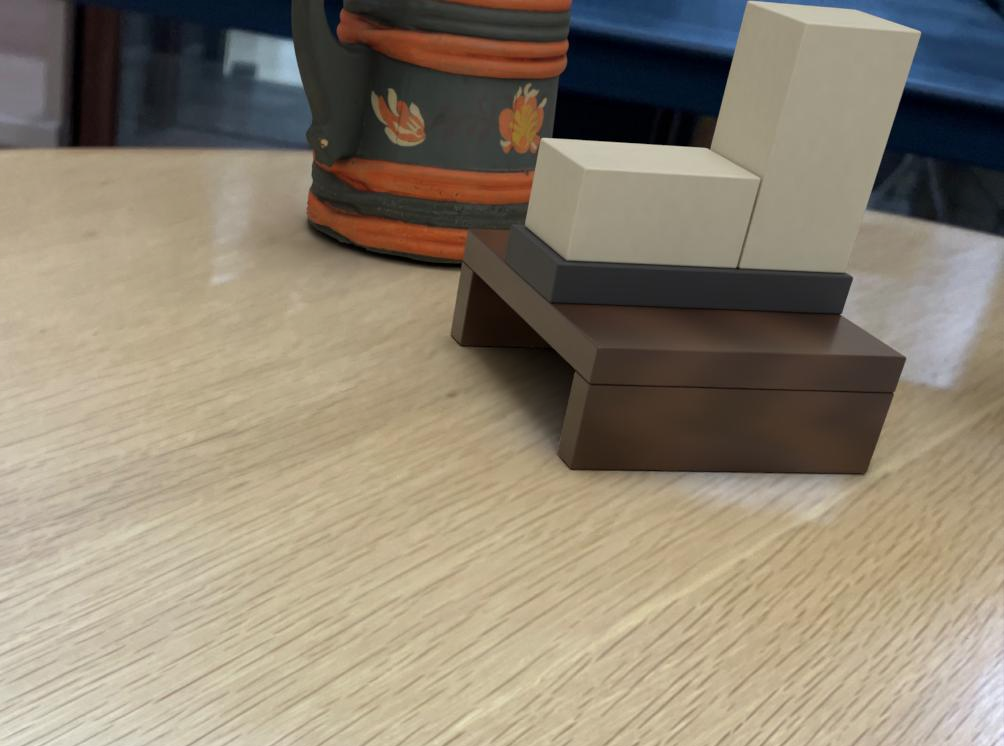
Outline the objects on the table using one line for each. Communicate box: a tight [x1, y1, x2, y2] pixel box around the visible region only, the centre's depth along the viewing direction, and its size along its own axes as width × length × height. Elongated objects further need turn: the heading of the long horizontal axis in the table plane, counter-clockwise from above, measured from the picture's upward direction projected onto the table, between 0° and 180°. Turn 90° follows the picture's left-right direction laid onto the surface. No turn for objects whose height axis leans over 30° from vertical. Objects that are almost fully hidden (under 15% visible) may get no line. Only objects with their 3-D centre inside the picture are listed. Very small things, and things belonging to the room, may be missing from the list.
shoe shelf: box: [450, 228, 907, 474], centre depth 71 cm, size 14×18×5 cm
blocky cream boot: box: [505, 0, 922, 315], centre depth 66 cm, size 14×6×11 cm, turn 101°
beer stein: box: [290, 0, 573, 264], centre depth 85 cm, size 19×15×20 cm
